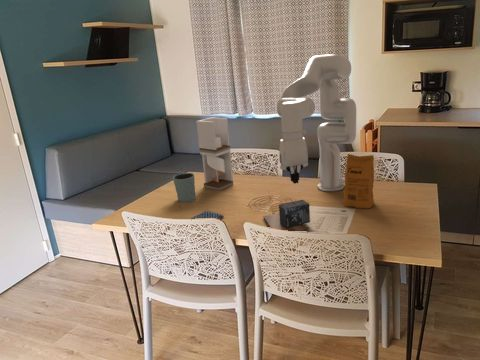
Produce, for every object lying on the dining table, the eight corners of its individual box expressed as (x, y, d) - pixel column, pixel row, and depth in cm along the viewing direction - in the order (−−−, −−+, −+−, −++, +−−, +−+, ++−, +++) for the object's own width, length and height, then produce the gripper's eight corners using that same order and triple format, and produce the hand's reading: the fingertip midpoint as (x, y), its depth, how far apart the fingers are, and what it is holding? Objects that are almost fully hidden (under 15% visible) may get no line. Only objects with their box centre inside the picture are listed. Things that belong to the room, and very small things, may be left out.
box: (310, 222, 155) (286, 228, 152) (303, 217, 160) (279, 223, 157) (309, 203, 153) (284, 209, 149) (302, 199, 158) (278, 204, 155)
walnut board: (292, 214, 167) (292, 211, 167) (308, 232, 151) (307, 228, 150) (263, 219, 165) (263, 216, 165) (275, 237, 149) (275, 233, 148)
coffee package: (347, 198, 179) (347, 150, 173) (376, 202, 173) (377, 152, 166) (340, 206, 171) (340, 156, 165) (370, 210, 165) (371, 158, 158)
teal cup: (201, 198, 196) (198, 174, 193) (185, 204, 190) (181, 180, 186) (187, 194, 203) (184, 171, 200) (171, 200, 196) (168, 177, 193)
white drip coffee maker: (204, 186, 212) (196, 121, 202) (218, 181, 220) (211, 117, 209) (219, 190, 205) (212, 122, 194) (233, 184, 213) (227, 118, 202)
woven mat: (208, 227, 163) (208, 223, 163) (190, 222, 170) (189, 218, 169) (225, 218, 171) (225, 214, 170) (207, 213, 178) (207, 209, 177)
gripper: (308, 130, 153) (310, 176, 159) (270, 136, 150) (273, 182, 156) (315, 134, 146) (317, 182, 152) (275, 140, 143) (279, 188, 149)
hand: (295, 182), depth 154 cm, fingers closed
